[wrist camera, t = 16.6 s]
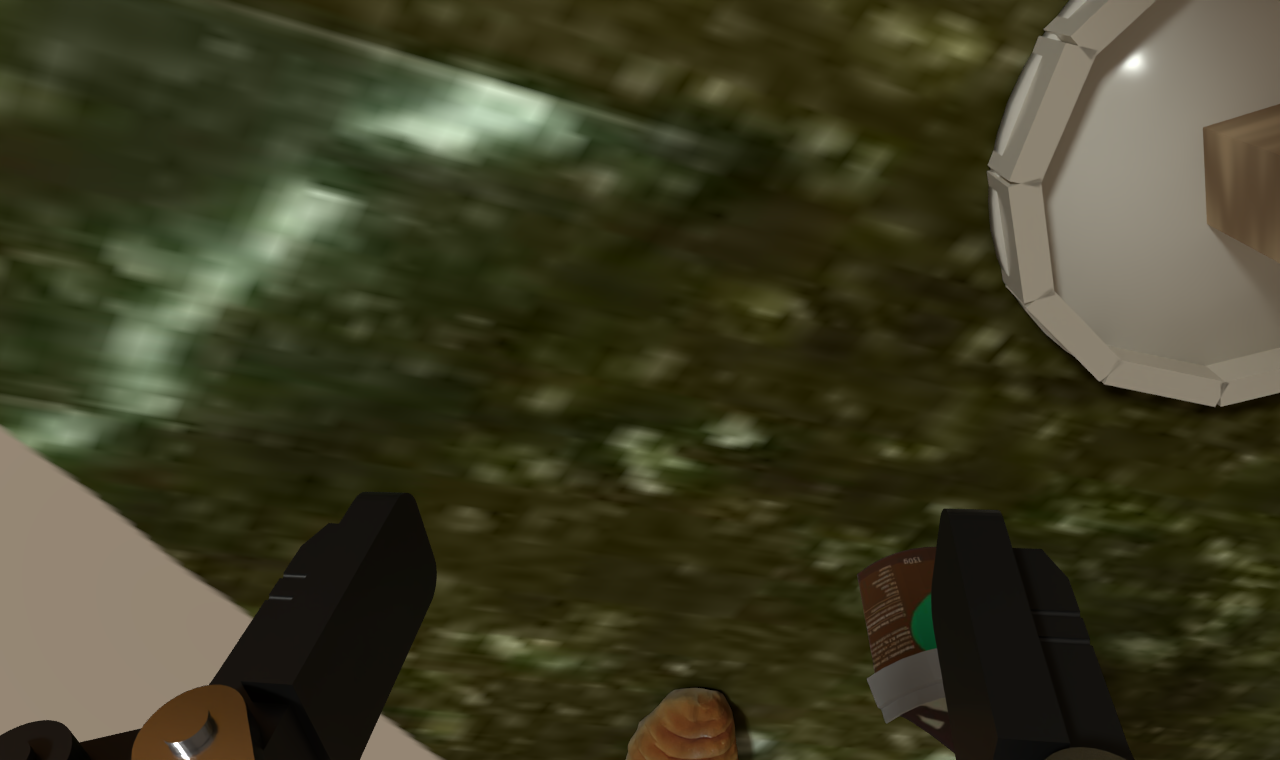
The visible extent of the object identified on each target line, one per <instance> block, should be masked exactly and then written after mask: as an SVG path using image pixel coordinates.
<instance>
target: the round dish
mask: <svg viewBox="0 0 1280 760" xmlns="http://www.w3.org/2000/svg"><path fill="white" fill-rule="evenodd" d="M1043 30H1044V31H1045V33H1044V34H1043V36H1039V37H1038V40H1037V42H1036V45H1035V47H1034V50H1033V52H1032V54H1031V56H1030V57H1029V59H1028V61H1027V62H1026V64H1025V66H1024V67H1023V69H1022V72H1021V74H1020V76H1019V78H1018V80H1017V82H1016V85H1015V87H1014V89H1013V91H1012V93H1011V95H1010V98H1009V100H1008V102H1007V105H1006V108H1005V111H1004V114H1003V117H1002V120H1001V123H1000V126H999V129H998V133H997V136H996V141H995V146H994V151H993V153H992V156H991V158H990V161H989V163H988V166H989V167H990V171H987V176H988V183H989V194H988V205H989V218H990V230H991V234H992V239H993V243H994V247H995V252H996V256H997V259H998V262H999V264H1000V267H1001V270H1002V277H1003V282H1004V283H1005V284H1006V287H1007V288H1008V289H1009V290H1010V291H1011V292H1012V293H1013V294H1014V296H1015V297H1016V299H1017V300H1018V302H1019V304H1020V305H1021V306H1022V307H1023V309H1024V310H1025V311H1026V312H1027V313H1028V315H1029V316H1030V317H1031V318H1032V319H1033V320H1034V322H1035V323H1036V324H1037V325H1038V326H1039V327H1040V328H1041V329H1042V331H1043V332H1044V333H1045V334H1046V335H1047V336H1049V337H1050V338H1051V339H1052V340H1053V341H1054V342H1056V343H1057V344H1058V345H1059V346H1060V347H1062V348H1063V349H1064V350H1065V351H1066V352H1068V353H1070V354H1071V355H1073V356H1074V357H1075V358H1076V359H1077V360H1078V361H1079V362H1080V363H1081V364H1082V365H1083V366H1084V367H1085V368H1086V369H1087V370H1088V371H1089V372H1090V373H1091V374H1092V375H1093V376H1094V377H1095V378H1096V379H1097V380H1098V381H1099V382H1100V381H1102V383H1103V384H1105V385H1110V386H1115V387H1120V388H1125V389H1130V390H1135V391H1140V392H1144V393H1149V394H1154V395H1159V396H1164V397H1169V398H1174V399H1179V400H1183V401H1188V402H1193V403H1198V404H1203V405H1208V406H1213V407H1215V406H1216V404H1218V405H1219V406H1221V407H1222V406H1226V405H1230V404H1235V403H1239V402H1243V401H1247V400H1251V399H1255V398H1260V397H1264V396H1268V395H1272V394H1276V393H1280V263H1278V262H1276V261H1275V260H1273V259H1271V258H1269V257H1267V256H1265V255H1263V254H1262V253H1260V252H1258V251H1256V250H1254V249H1252V248H1251V247H1249V246H1247V245H1245V244H1243V243H1241V242H1239V241H1238V240H1236V239H1234V238H1232V237H1230V236H1228V235H1226V234H1225V233H1223V232H1221V231H1219V230H1217V229H1215V228H1214V227H1212V226H1210V225H1208V224H1207V215H1206V192H1205V169H1204V145H1203V127H1206V126H1209V125H1212V124H1216V123H1219V122H1222V121H1225V120H1229V119H1232V118H1235V117H1238V116H1242V115H1245V114H1248V113H1252V112H1255V111H1258V110H1261V109H1265V108H1268V107H1271V106H1274V105H1278V104H1280V0H1069V1H1068V3H1067V4H1066V5H1065V6H1064V8H1063V9H1062V10H1061V12H1060V13H1059V14H1058V16H1057V17H1056V18H1055V19H1054V20H1053V21H1052V22H1051V23H1050V24H1049V25H1047V26H1046V27H1045V28H1044V29H1043Z"/></svg>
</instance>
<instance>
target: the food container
mask: <svg viewBox="0 0 1280 760" xmlns="http://www.w3.org/2000/svg"><path fill="white" fill-rule="evenodd" d="M936 548H937V547H923V548H916V549H910V550H906V551H902V552H898V553H895V554H892V555H890V556H887V557H885V558H882V559H880V560H879V561H877V562H875V563H873V564H871V565H869V566H868V567H867V568H865V569H864V570H862V571H861V572H860V573H858V574H857V576H858V582H859V587H860V593H861V598H862V604H863V609H864V615H865V620H866V626H867V631H868V637H869V642H870V648H871V653H872V659H873V664H874V670H875V674H873V675H872V676H870V677H869V678H867V681H868V683H869V686H870V688H871V691H872V694H873V696H874V699H875V701H876V704H877V707H878V708H880V709H881V710H882V713H883V716H884V720H885V723H888V722H890V721H892V720H893V719H895V718H896V717H898V716H901V717H904V718H906V719H908V720H909V721H911V722H913V723H914V724H916V725H917V726H919V727H920V728H922V729H923V730H925V731H926V732H927V733H929V734H930V735H932V736H933V737H934V738H936V739H937V740H938V741H940V742H941V743H942V744H944V745H945V746H946V747H947V748H949V749H950V750H951V751H952V752H954V753H955V750H954V744H953V739H952V733H951V727H950V721H949V716H948V710H947V704H946V698H945V692H944V687H943V681H942V675H941V669H940V663H939V658H938V652H937V646H936V640H935V635H934V629H933V621H932V609H931V588H932V578H933V570H934V563H935V555H936Z"/></svg>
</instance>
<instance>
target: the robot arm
mask: <svg viewBox="0 0 1280 760" xmlns="http://www.w3.org/2000/svg"><path fill="white" fill-rule="evenodd" d="M436 577H437V571H436V562H435V558H434V555H433V552H432V549H431V546H430V543H429V540H428V537H427V534H426V531H425V528H424V525H423V522H422V519H421V515H420V512H419V509H418V506H417V503H416V501H415V499H414V497H413V496H412V495H411V494H409V493H390V492H362V493H361V494H359V495H358V496H357V497H356V498H355V500H354V501H353V503H352V504H351V506H350V508H349V509H348V511H347V512H346V514H345V515H344V517H343V519H342V520H341V522H340V523H339V524H332V523H328V524H327V525H326V526H325V527H324V528H323V529H321V530H320V531H319V532H318V533H317V534H315V535H314V536H313V537H312V538H311V539H309V540H308V541H307V542H306V543H305V544H303V545H302V546H301V547H300V549H299V550H298V552H297V553H296V555H295V556H294V558H293V559H292V561H291V562H290V564H289V565H288V567H287V569H286V570H285V572H284V577H283V578H280V579H279V581H278V582H277V584H276V585H275V587H274V588H273V590H272V591H271V593H270V594H269V600H265V602H264V603H263V605H262V606H261V608H260V609H259V611H258V612H257V614H256V615H255V617H254V618H253V620H252V621H251V623H250V624H249V626H248V627H247V629H246V630H245V632H244V633H243V635H242V637H241V638H240V639H239V641H238V642H237V644H236V645H235V647H234V649H233V650H232V652H231V653H230V655H229V656H228V658H227V659H226V661H225V662H224V664H223V665H222V667H221V668H220V670H219V671H218V673H217V674H216V676H215V677H214V679H213V680H212V681H211V683H210V684H209V685H207V686H201V687H197V688H194V689H192V690H189V691H186V692H184V693H182V694H180V695H178V696H176V697H175V698H173V699H172V700H170V701H169V702H167V703H166V704H164V705H163V706H162V707H161V708H159V709H158V710H157V711H156V712H155V713H154V714H153V715H152V716H151V717H150V718H149V719H148V721H147V722H146V723H145V724H144V725H143V727H142V728H141V729H137V730H133V731H129V732H124V733H119V734H115V735H111V736H106V737H102V738H98V739H93V740H89V741H84V742H80V743H79V742H78V740H77V739H76V738H75V737H74V735H73V734H72V733H71V731H70V730H69V729H68V728H67V727H66V726H65V725H64V724H62V723H60V722H57V721H51V720H46V721H45V720H43V721H36V722H31V723H27V724H24V725H21V726H19V727H16V728H14V729H12V730H10V731H8V732H6V733H4V734H2V735H1V736H0V760H360V758H361V756H362V753H363V751H364V749H365V747H366V745H367V743H368V740H369V738H370V736H371V734H372V731H373V729H374V727H375V725H376V723H377V720H378V718H379V716H380V714H381V712H382V709H383V707H384V705H385V703H386V701H387V698H388V696H389V694H390V692H391V690H392V687H393V685H394V683H395V681H396V679H397V676H398V674H399V672H400V670H401V667H402V665H403V663H404V661H405V659H406V656H407V654H408V652H409V650H410V648H411V645H412V643H413V641H414V639H415V637H416V634H417V632H418V630H419V628H420V626H421V623H422V621H423V619H424V617H425V614H426V612H427V610H428V608H429V606H430V603H431V601H432V599H433V595H434V592H435V587H436ZM931 609H932V621H933V629H934V635H935V640H936V646H937V652H938V658H939V663H940V669H941V675H942V681H943V687H944V692H945V698H946V704H947V710H948V716H949V721H950V727H951V733H952V739H953V744H954V750H955V756H956V760H1135V759H1134V758H1133V756H1132V753H1131V751H1130V749H1129V747H1128V744H1127V741H1126V738H1125V736H1124V733H1123V730H1122V727H1121V724H1120V722H1119V719H1118V716H1117V713H1116V710H1115V708H1114V705H1113V702H1112V699H1111V697H1110V694H1109V691H1108V688H1107V685H1106V683H1105V680H1104V677H1103V674H1102V671H1101V669H1100V666H1099V663H1098V660H1097V657H1096V655H1095V652H1094V649H1093V646H1090V638H1089V635H1088V632H1087V630H1086V627H1085V624H1084V621H1083V618H1080V610H1079V607H1078V604H1077V602H1076V599H1075V596H1074V593H1073V591H1072V588H1071V585H1070V582H1069V579H1068V578H1067V577H1066V575H1065V574H1064V573H1063V572H1062V571H1061V570H1060V569H1059V568H1058V567H1057V566H1056V565H1055V563H1054V562H1053V561H1052V560H1051V559H1050V558H1049V557H1048V556H1047V555H1046V554H1045V552H1044V551H1043V550H1042V549H1021V548H1012V546H1011V543H1010V539H1009V536H1008V533H1007V529H1006V526H1005V522H1004V519H1003V516H1002V514H1001V513H1000V511H998V510H974V509H943V511H942V513H941V518H940V525H939V532H938V540H937V548H936V555H935V563H934V570H933V578H932V588H931Z"/></svg>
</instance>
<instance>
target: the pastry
mask: <svg viewBox="0 0 1280 760" xmlns="http://www.w3.org/2000/svg"><path fill="white" fill-rule="evenodd" d="M626 760H738V750H737V745H736V737H735V724H734V719H733V714H732V710H731V708H730V706H729V704H728V702H727V700H726V698H725V696H724V695H723V694H722V693H720V692H718V691H712V690H707V689H702V688H685V689H677V690H674V691H672V692H671V693H669V694H668V695H667V696H666V698H664V699H663V700H662V702H661V703H660V705H659V706H657V707H656V708H655V709H654V710H653V711H652V712H651V713H650V714H649V715H648V716H646V717H645V718H644V719H642V720H641V721H640V722H639V725H638V729H637V731H636V732H635V734H634V735H633V737H632V738H631V740H630V742H629V744H628V754H627V757H626Z"/></svg>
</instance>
